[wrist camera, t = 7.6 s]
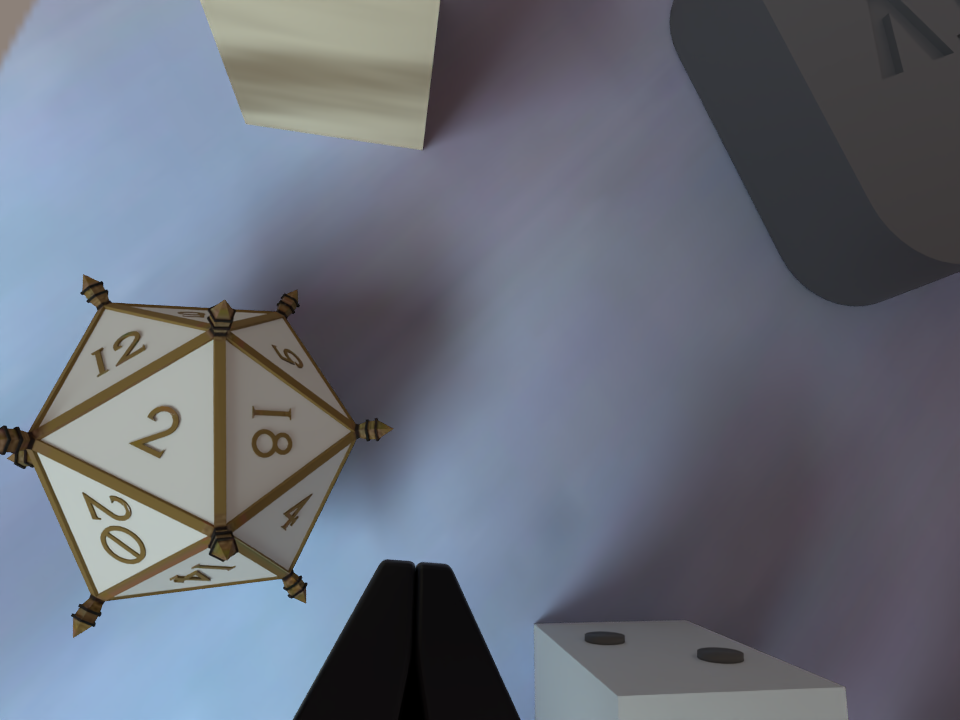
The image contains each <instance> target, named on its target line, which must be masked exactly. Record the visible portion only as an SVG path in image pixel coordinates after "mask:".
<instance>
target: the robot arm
mask: <svg viewBox="0 0 960 720" xmlns="http://www.w3.org/2000/svg"><path fill="white" fill-rule="evenodd" d="M293 720H520V717H519V715H518V713H517V711H516V709H515V706H514V704H513V702H512V700H511V698H510V695H509V693H508V691H507V689H506V687H505V684H504V682H503V680H502V678H501V676H500V673H499V671H498V669H497V667H496V665H495V662H494V660H493V658H492V656H491V654H490V651H489V649H488V647H487V645H486V643H485V640H484V638H483V636H482V634H481V632H480V629H479V627H478V625H477V623H476V621H475V618H474V616H473V614H472V612H471V609H470V607H469V605H468V603H467V601H466V598H465V596H464V594H463V592H462V590H461V587H460V585H459V583H458V581H457V579H456V576H455V574H454V572H453V570H452V569H451V567H450V566H449V565H447V564H441V563H428V562H421V563H419V564H417V566H416V569H415V564H414V563H413V562H411V561H402V560H389V559H387V560H384V561H382V562H381V563H380V564H379V566H378V568H377V570H376V571H375V573H374V575H373V577H372V579H371V580H370V582H369V584H368V586H367V588H366V589H365V591H364V593H363V595H362V596H361V598H360V600H359V602H358V604H357V605H356V607H355V609H354V611H353V613H352V614H351V616H350V618H349V620H348V622H347V623H346V625H345V627H344V629H343V631H342V632H341V634H340V636H339V638H338V640H337V641H336V643H335V645H334V647H333V649H332V650H331V652H330V654H329V656H328V657H327V659H326V661H325V663H324V665H323V666H322V668H321V670H320V672H319V674H318V675H317V677H316V679H315V681H314V683H313V684H312V686H311V688H310V690H309V692H308V693H307V695H306V697H305V699H304V701H303V702H302V704H301V706H300V708H299V710H298V711H297V713H296V715H295V717H294V718H293Z"/></svg>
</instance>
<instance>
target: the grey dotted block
mask: <svg viewBox="0 0 960 720" xmlns="http://www.w3.org/2000/svg"><path fill="white" fill-rule="evenodd" d="M534 667H535V720H848V711H847V700H846V689H845V687H844V686H841V685H839V684H837V683H834V682H832V681H830V680H827V679H825V678H822V677H820V676H818V675H815V674H813V673H811V672H808V671H806V670H803V669H801V668H799V667H796V666H794V665H792V664H789V663H787V662H784V661H782V660H780V659H777V658H775V657H773V656H770V655H768V654H765V653H763V652H761V651H758V650H756V649H753V648H751V647H749V646H746V645H744V644H742V643H739V642H737V641H734V640H732V639H730V638H727V637H725V636H723V635H720V634H718V633H715V632H713V631H711V630H708V629H706V628H704V627H701V626H699V625H696V624H694V623H692V622H689V621H687V620H664V621H623V622H583V623H542V624H534Z"/></svg>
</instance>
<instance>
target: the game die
mask: <svg viewBox="0 0 960 720" xmlns="http://www.w3.org/2000/svg"><path fill="white" fill-rule="evenodd" d="M81 295H85V296H86V298H87V299H88V300H87V302H88V303H92V304H93V305H94V306H96V307H97V310H98V311H97V312H96V314H95V316H94V318H93V319H92V321H91V323H90V325H89V326H88V328H87V330H86V332H85V334H84V335H83V337H82V339H81V341H80V342H79V344H78V346H77V348H76V349H75V351H74V353H73V355H72V356H71V358H70V360H69V362H68V363H67V365H66V367H65V369H64V370H63V372H62V374H61V376H60V377H59V379H58V381H57V383H56V384H55V386H54V388H53V390H52V391H51V393H50V395H49V397H48V399H47V400H46V402H45V404H44V406H43V407H42V409H41V411H40V413H39V414H38V416H37V418H36V420H35V421H34V423H33V425H32V427H31V428H30V430H29V432H24V431H21V430H20V428H19V427H15V428H14V429H7V426H2V427H1V428H0V454H1V455H5V454H6V452H11V453H13V454H12V455H11V456H10V457H8V458H7V459H9V460H11V461H13V462H14V464H15V465H17V466H19V467H21V468H23V469H25V468H26V466H30V467H32V468H33V467H34V468H35V470H36V472H37V474H38V477H39V479H40V481H41V483H42V486H43V488H44V490H45V492H46V495H47V497H48V499H49V501H50V504H51V506H52V508H53V510H54V513H55V515H56V517H57V519H58V522H59V524H60V526H61V528H62V531H63V533H64V535H65V537H66V539H67V542H68V544H69V546H70V548H71V551H72V553H73V555H74V557H75V560H76V562H77V564H78V566H79V569H80V571H81V573H82V575H83V578H84V580H85V582H86V584H87V587H88V589H89V591H90V593H91V595H90V598H89V599H88V600H87V601H86V602H85V603H83V604H79V606H78V607H80V608H79V609H78V611H77V612H76V614H72V615H71V616H72V617H73V638H74V637H76V636H77V635H79V634H80V633H82V632H83V631H85V630H87V629H88V628H90V627H91V626H93V627H94V626H95V621H96V619H97V617H98V616H99V617H100V616H101V612H100V611H101V608H102V605H103V603H104V602H105V601H110V600H118V599H126V598H134V597H142V596H150V595H158V594H165V593H173V592H181V591H189V590H197V589H205V588H213V587H221V586H228V585H236V584H244V583H252V582H260V581H268V580H276V579H282V580H283V583H284V586H285V587H283V589H284V590H286V591H287V592H288V593H289V595H288V597H289V598H295V599H298V600H300V601H302V602H304V603H306V586H307V583H304V582H303V581H302V576H298V575H296V574H295V573H294V572H293V568H294V566H295V564H296V562H297V560H298V558H299V556H300V554H301V552H302V550H303V548H304V545H305V543H306V541H307V539H308V537H309V535H310V533H311V531H312V529H313V527H314V525H315V523H316V521H317V519H318V517H319V515H320V513H321V511H322V509H323V507H324V505H325V503H326V501H327V499H328V497H329V494H330V492H331V490H332V488H333V486H334V484H335V482H336V480H337V478H338V476H339V474H340V472H341V470H342V468H343V466H344V464H345V462H346V460H347V458H348V456H349V454H350V452H351V450H352V448H353V446H354V443H355V441H356V439H358V438H363V439H366V440H367V441H370V439H376V441H379V439H380V438H381V437H382V436H383V435H385V434H386V433H388V432H389V431H391V430H392V429H393V428H391V427H389V426H387V425H386V424H384V423H382V422H380V421H378V419H377V418H375V421H369V420H366V422H364V423H362V424H355V422H354V421H353V419H352V418H351V416H350V415H349V413H348V412H347V410H346V409H345V407H344V406H343V404H342V403H341V401H340V400H339V398H338V396H337V395H336V393H335V392H334V390H333V389H332V387H331V386H330V384H329V383H328V381H327V380H326V378H325V377H324V375H323V374H322V372H321V371H320V369H319V368H318V366H317V365H316V363H315V362H314V360H313V359H312V357H311V356H310V354H309V353H308V351H307V350H306V348H305V346H304V345H303V343H302V342H301V340H300V339H299V337H298V336H297V334H296V333H295V331H294V330H293V328H292V327H291V325H290V324H289V322H288V321H287V317H288V316H289V315H290V314H294V313H295V311H294V310H295V309H296V307H299V306H300V305H299V304H298V291H297V290H295V291H293V292H290V293H288V294H285V293H284V294H283V296H282V297H281V299H282V300H280V301H279V303H278V304H277V306H278V308H277V311H276V312H272V311H254V310H236V309H232V308H231V307H230V305H229V304H228V303H227V302H226V300H223V301H222V302H221V303H219V304H218V305H215V306H213V307H211V308H199V307H181V306H162V305H144V304H126V303H112V302H111V301H109V299H108V290H105V289H104V287H103V282H102V281H101V282H99V281H96V280H94V279H92V278H90V277H88V276H86V275H84V274H83V290H82V292H81Z"/></svg>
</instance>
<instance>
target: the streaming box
mask: <svg viewBox="0 0 960 720" xmlns="http://www.w3.org/2000/svg"><path fill="white" fill-rule="evenodd" d="M670 31H671V36H672V40H673V44H674V47H675V49H676V51H677V54H678V56H679V58H680V60H681V62H682V64H683V66H684V68H685V70H686V71H687V73H688V75H689V77H690V79H691V81H692V83H693V85H694V87H695V89H696V91H697V93H698V95H699V97H700V99H701V101H702V103H703V105H704V107H705V109H706V111H707V113H708V115H709V117H710V119H711V120H712V122H713V124H714V126H715V128H716V130H717V132H718V134H719V136H720V138H721V140H722V142H723V144H724V146H725V148H726V150H727V152H728V154H729V156H730V158H731V160H732V162H733V164H734V166H735V167H736V169H737V171H738V173H739V175H740V177H741V179H742V181H743V183H744V185H745V187H746V189H747V191H748V193H749V195H750V197H751V199H752V201H753V203H754V205H755V207H756V209H757V211H758V213H759V214H760V216H761V218H762V220H763V222H764V224H765V226H766V228H767V230H768V232H769V234H770V236H771V238H772V240H773V242H774V244H775V246H776V248H777V250H778V252H779V254H780V256H781V257H782V259H783V261H784V262H785V264H786V266H787V267H788V269H789V270H790V271H791V272H792V274H793V275H794V276H795V277H796V278H797V279H798V280H799V281H800V282H801V283H802V284H803V285H804V286H805V287H806V288H808V289H809V290H811V291H812V292H813V293H815V294H816V295H818V296H820V297H822V298H824V299H826V300H829V301H832V302H835V303H838V304H843V305H848V306H865V305H871V304H875V303H878V302H881V301H884V300H886V299H889V298H892V297H894V296H897V295H899V294H902V293H905V292H907V291H910V290H912V289H915V288H918V287H920V286H923V285H926V284H928V283H931V282H933V281H936V280H939V279H941V278H944V277H946V276H949V275H952V274H954V273H957V272H960V0H674V1H673V5H672V8H671V13H670Z"/></svg>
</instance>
